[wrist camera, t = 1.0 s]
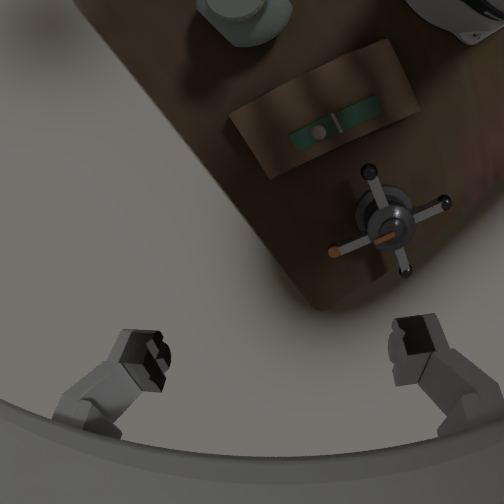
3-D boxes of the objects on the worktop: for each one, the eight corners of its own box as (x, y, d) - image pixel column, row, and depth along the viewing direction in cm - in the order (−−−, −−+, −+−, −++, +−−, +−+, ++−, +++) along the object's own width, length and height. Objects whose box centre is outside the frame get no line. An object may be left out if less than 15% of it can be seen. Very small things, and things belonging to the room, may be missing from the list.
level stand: (382, 39, 29) (392, 38, 26) (413, 107, 34) (426, 113, 30) (231, 111, 37) (225, 117, 34) (270, 173, 42) (269, 185, 38)
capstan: (424, 130, 34) (439, 140, 30) (454, 242, 43) (465, 259, 39) (295, 188, 42) (296, 203, 38) (348, 287, 51) (352, 307, 47)
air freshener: (301, 21, 30) (307, 9, 22) (248, 58, 33) (237, 57, 25) (244, -37, 25) (232, -63, 17) (193, 1, 29) (165, -13, 21)
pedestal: (400, 175, 40) (403, 178, 39) (417, 224, 44) (419, 227, 43) (345, 200, 43) (346, 203, 42) (366, 246, 47) (367, 250, 46)
